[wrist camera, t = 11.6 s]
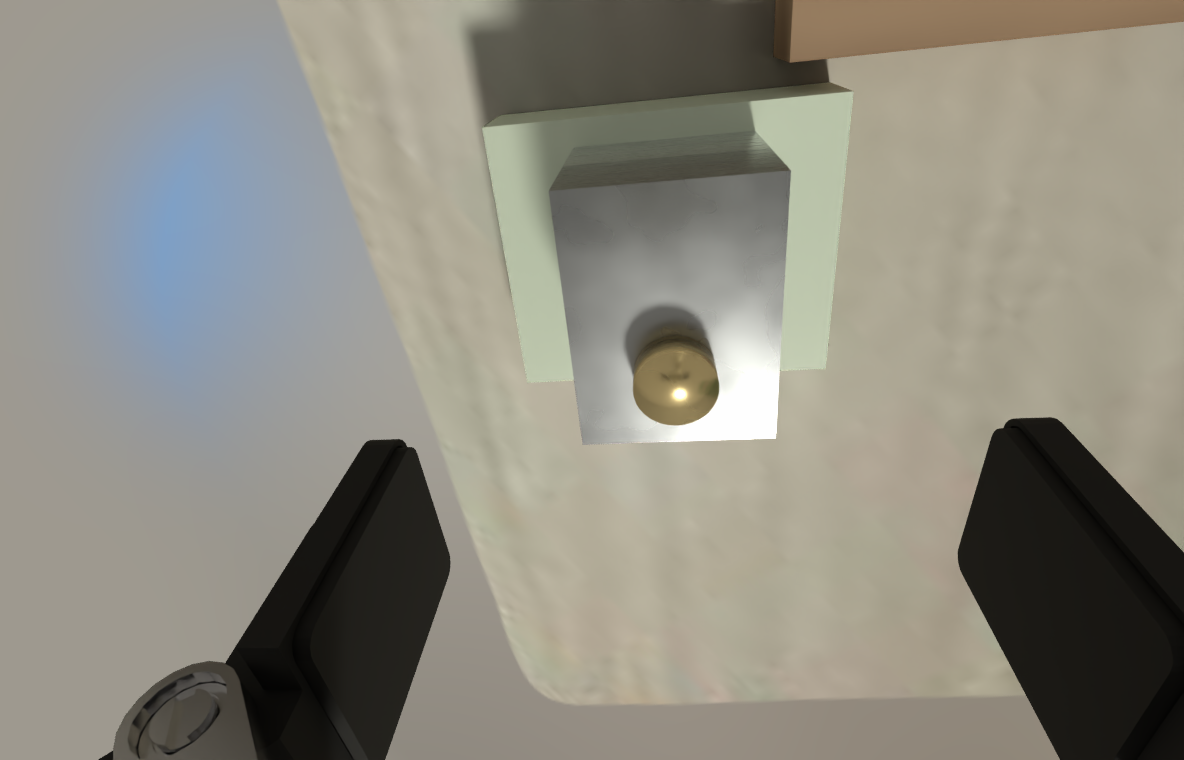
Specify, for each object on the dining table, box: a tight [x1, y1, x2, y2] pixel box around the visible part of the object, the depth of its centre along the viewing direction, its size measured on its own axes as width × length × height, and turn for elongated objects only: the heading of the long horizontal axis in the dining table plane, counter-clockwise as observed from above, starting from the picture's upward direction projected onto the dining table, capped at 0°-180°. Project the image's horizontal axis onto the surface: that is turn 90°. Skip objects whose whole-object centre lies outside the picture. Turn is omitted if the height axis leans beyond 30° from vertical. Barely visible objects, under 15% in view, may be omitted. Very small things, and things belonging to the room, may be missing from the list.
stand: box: [482, 82, 854, 383], centre depth 24 cm, size 10×12×3 cm
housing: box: [549, 131, 791, 445], centre depth 20 cm, size 8×6×7 cm
